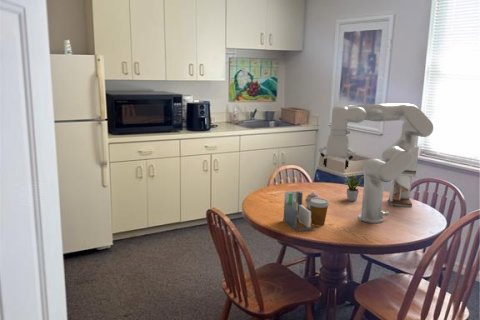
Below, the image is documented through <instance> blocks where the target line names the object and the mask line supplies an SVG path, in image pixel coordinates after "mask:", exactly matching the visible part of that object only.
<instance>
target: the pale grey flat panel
mask: <svg viewBox="0 0 480 320" xmlns="http://www.w3.org/2000/svg"><path fill="white" fill-rule="evenodd" d="M299 194H300V197H299V210H298V220H297V221H299V222H300V223H301V224H303V226H305V228H310V227H311V225H312V224H311V210H309V209H307V207H305V206H304V205H303V204H302V205H301V200H302V201H303V199H302V193H300V192H299Z"/></svg>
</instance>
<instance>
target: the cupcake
mask: <svg viewBox="0 0 480 320" xmlns="http://www.w3.org/2000/svg"><path fill="white" fill-rule="evenodd" d="M313 198H321V196H320V195H319V194H318V193H317V192H315V191H314V190H313V191H312V193H311V192H310V193H309V194H308V195H307V196H306V198H304V202H305V205H306V209H308V210H309V211H311V210H310V203H309V202H310V200H311V199H313Z"/></svg>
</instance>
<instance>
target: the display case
mask: <svg viewBox="0 0 480 320" xmlns="http://www.w3.org/2000/svg"><path fill="white" fill-rule="evenodd" d="M419 148H420V146H419V145H418V146H417V145H416V143H415V146H414V148H413V149H412V150H411V151H410V153H411V154H412V157H413V159H412V163H411V165H410V166H409V167H408V168H407V169H406V170H405V171H404V172H402V173H401V174H400V175H399V176H397V177H396V178H395V179H393V180H392V181H390V183H389V192H388V193H389V194H388V202H389V204H390V206H393V205H395V206H394V207H396V206H397V207H404V206H405V208H412V207H413V202H412V200H411V199H410V198H411V197H410V196H411V191H412V190H411V189H412V188H411V187H412V180H413V178H416V174H417V167H418V158H419V157H418V156H419Z"/></svg>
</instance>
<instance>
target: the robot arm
mask: <svg viewBox="0 0 480 320" xmlns="http://www.w3.org/2000/svg"><path fill="white" fill-rule="evenodd" d="M331 111H332V112H331V122H330V133H329V134H328V137H327V141H326V145H325V146H323V147H322V148H319V149H318V152H319V154H320V156H321V158H322V159H323V163H322V164H323V165H322V166H324V168H326V167H327V166H328V157H329V156H330V157H338V158H344V159H345V164H344V170H348V169H347V168H349V164H350V163H349V162H350V161H351V160H352V159H353V158H354V156H355V155H356V151H354V150H353V149H351V148H349V136H348V135H350V133H351V131H350V130H349V129H348V123H355V124H358V123H359V124H360V123H361V122H363V121H371V122H379V123H381V122H399V121H401V122H402V121H403V123H402V124H401V134H400V137H399V138H398V139H397V140H395V142H393V143H392V144H391V145H389V146H388V147H387V148H386V149H385V150H384V151H382V152H381V159H379V158H369V159H368V160H366V161H365V162H364V165H363V176H364V177H363V180H364V181H363V194H362V202H361V203H362V204H361V212H360V213H359V214H358V215H357V218H358V220H360V221H361V222H365V223H368V224H380V223H381V224H382V223H383V222H384V216H390V213H389V211H384V210H382V207H383V197H384V196H383V195H384V183H389V182H391V181H392V180H393V179H395V178H396V177H397V176H399V175H400V174H401V173H402V172H404V171H405V170H406V169H407V168H408V167H409V166H410V165H411V163H412V159H413V157H412V154H411V153H410V151H411V150H412V149H413V148H414V146H415V144H416V138H417V137H420V138H427V137H430V136H431V134H433V132H434V125H433V122H432V121H431V120H430V118H428V116H427V115H426V114H425V113H424V112H423V111H422V110H421V109H420V108H419V107H418V106H417V105H415V104H411V103H403V102H402V103H396V102H395V103H380V104H379V103H377V104H376V103H375V104H374V103H371V104H351V105H350V104H349V105H345V106H334V107H332V110H331ZM323 151H325V153H326V154H324V153H323ZM349 153H351V155H349V156H348V154H349Z"/></svg>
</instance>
